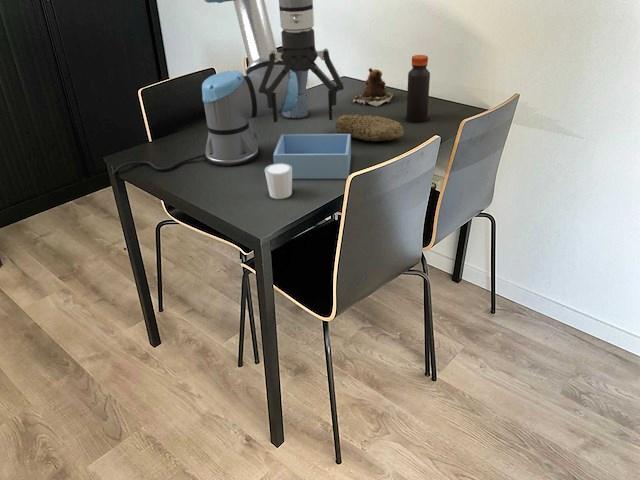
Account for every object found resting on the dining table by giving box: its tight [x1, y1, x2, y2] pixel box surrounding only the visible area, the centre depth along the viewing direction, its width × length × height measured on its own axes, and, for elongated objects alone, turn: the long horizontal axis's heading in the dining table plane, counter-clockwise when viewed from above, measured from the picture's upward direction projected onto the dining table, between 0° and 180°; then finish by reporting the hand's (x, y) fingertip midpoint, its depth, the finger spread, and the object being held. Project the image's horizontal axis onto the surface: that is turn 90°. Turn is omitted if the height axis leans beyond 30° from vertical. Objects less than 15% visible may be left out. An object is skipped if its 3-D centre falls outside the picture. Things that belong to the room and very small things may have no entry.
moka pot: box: [281, 69, 310, 119], centre depth 184 cm, size 10×15×20 cm, turn 124°
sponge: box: [334, 113, 405, 142], centre depth 167 cm, size 13×8×20 cm
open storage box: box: [272, 133, 352, 180], centre depth 151 cm, size 20×15×7 cm
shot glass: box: [264, 163, 293, 200], centre depth 138 cm, size 7×7×7 cm
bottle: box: [405, 54, 431, 123], centre depth 176 cm, size 7×7×20 cm
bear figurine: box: [352, 67, 394, 107], centre depth 197 cm, size 14×15×12 cm
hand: (303, 119), depth 137 cm, fingers open, 13 cm apart
